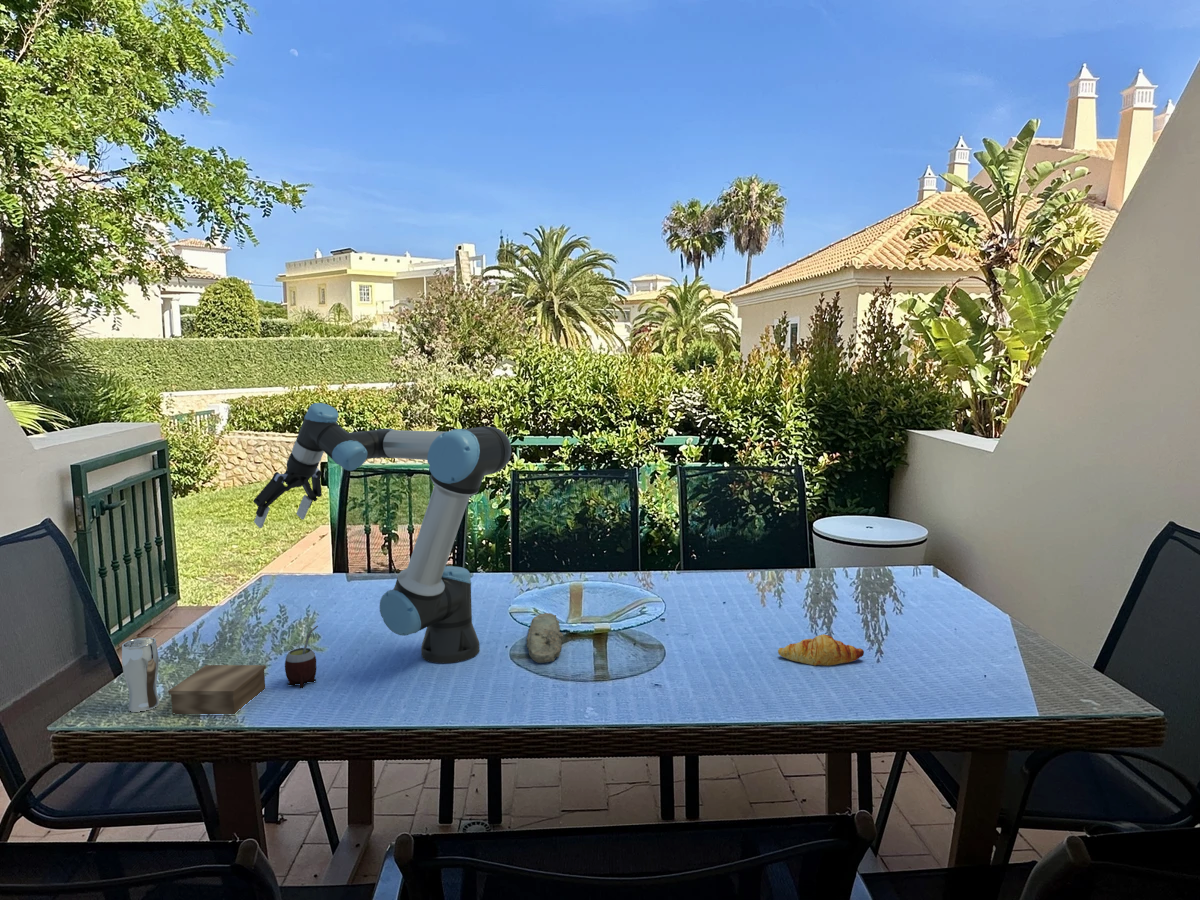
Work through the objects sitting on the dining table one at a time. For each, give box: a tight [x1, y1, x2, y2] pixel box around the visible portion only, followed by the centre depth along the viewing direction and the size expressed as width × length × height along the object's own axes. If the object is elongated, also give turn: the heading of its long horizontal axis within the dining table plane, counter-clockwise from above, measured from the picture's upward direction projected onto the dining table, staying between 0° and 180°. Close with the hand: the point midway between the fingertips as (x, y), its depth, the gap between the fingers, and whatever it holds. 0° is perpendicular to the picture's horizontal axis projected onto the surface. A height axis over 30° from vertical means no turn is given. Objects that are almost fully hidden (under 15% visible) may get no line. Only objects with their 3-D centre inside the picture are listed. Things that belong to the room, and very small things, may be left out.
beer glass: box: [121, 637, 161, 713], centre depth 171 cm, size 7×7×15 cm
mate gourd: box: [284, 625, 319, 689], centre depth 183 cm, size 8×8×15 cm
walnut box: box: [168, 664, 267, 714], centre depth 174 cm, size 15×15×6 cm
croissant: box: [777, 634, 865, 667], centre depth 194 cm, size 21×10×8 cm, turn 83°
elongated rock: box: [525, 612, 564, 664], centre depth 210 cm, size 35×5×10 cm
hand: (279, 520), depth 209 cm, fingers open, 13 cm apart
